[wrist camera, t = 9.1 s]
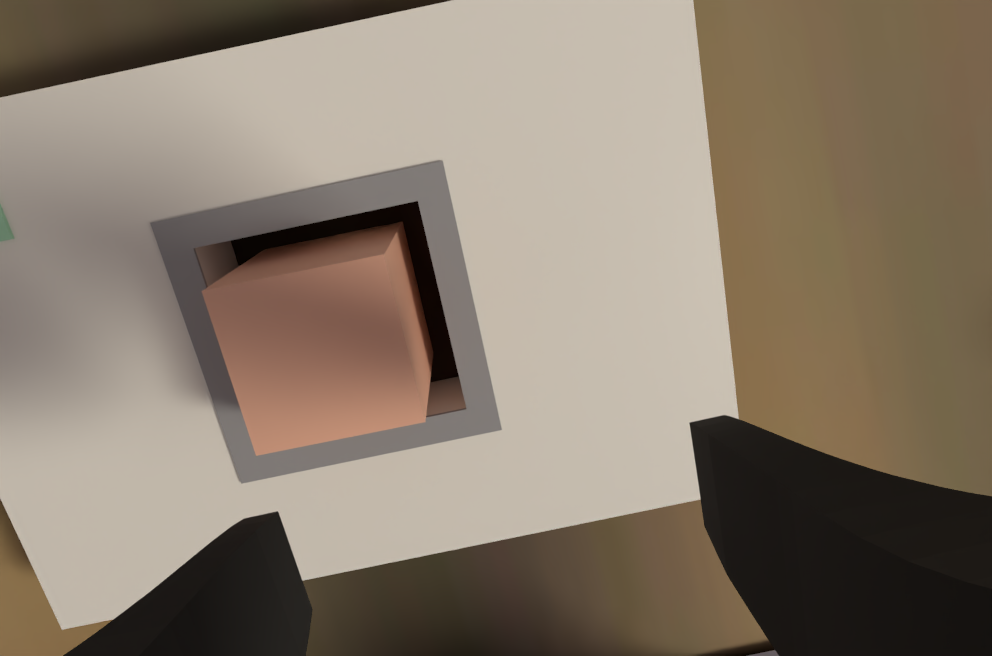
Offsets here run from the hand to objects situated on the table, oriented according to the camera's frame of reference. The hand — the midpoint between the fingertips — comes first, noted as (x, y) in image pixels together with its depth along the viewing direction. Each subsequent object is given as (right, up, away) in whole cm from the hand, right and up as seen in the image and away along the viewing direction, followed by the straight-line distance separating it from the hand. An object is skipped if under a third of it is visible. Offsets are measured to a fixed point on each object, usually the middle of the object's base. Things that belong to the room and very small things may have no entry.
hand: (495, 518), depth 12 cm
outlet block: (-4, +4, +8) cm, 10 cm away
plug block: (-4, +4, +8) cm, 10 cm away
